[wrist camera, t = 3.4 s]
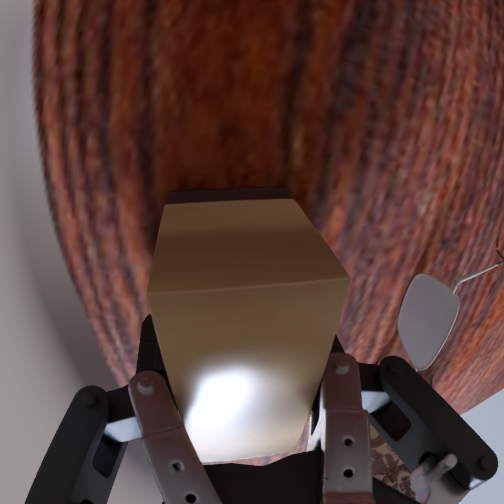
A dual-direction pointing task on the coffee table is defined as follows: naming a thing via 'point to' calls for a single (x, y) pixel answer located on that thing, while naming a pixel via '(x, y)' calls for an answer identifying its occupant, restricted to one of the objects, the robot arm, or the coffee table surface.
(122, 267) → the coffee table surface
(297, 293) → the eraser
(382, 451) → the figurine
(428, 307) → the eyeglasses
